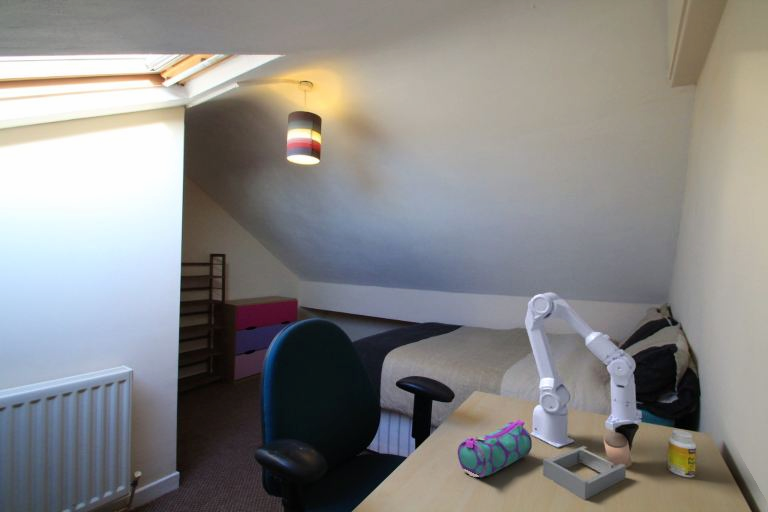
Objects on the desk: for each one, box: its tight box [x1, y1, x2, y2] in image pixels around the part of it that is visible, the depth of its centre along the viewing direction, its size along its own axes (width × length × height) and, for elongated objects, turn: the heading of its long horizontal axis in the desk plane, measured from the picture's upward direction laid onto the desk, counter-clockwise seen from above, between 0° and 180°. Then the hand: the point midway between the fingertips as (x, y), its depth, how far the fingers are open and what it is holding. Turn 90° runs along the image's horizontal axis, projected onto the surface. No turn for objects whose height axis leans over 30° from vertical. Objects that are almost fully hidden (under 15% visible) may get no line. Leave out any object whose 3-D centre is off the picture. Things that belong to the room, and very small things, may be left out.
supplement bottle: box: [667, 429, 697, 478], centre depth 98 cm, size 6×6×10 cm
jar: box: [603, 431, 633, 469], centre depth 102 cm, size 6×6×7 cm
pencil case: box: [457, 419, 533, 478], centre depth 100 cm, size 21×9×10 cm, turn 127°
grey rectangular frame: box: [542, 445, 627, 501], centre depth 96 cm, size 11×17×4 cm, turn 120°
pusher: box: [579, 448, 615, 474], centre depth 98 cm, size 8×1×3 cm, turn 30°
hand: (625, 450), depth 103 cm, fingers closed, pressing on jar
